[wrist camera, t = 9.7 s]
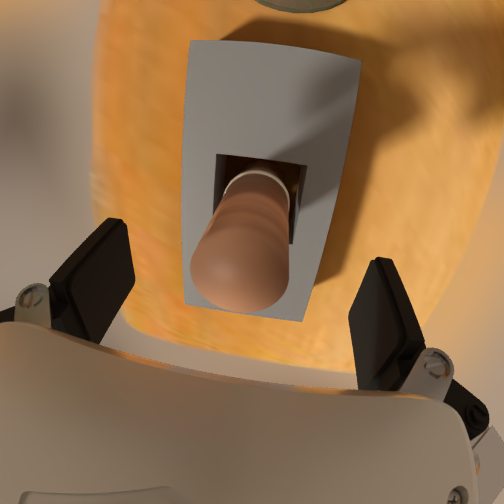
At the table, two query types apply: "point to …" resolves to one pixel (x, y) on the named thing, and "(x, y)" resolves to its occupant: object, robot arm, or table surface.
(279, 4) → the candlestick holder
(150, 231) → the table surface
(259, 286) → the dowel
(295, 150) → the seat board
